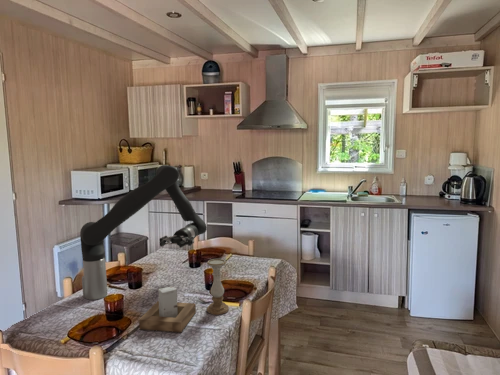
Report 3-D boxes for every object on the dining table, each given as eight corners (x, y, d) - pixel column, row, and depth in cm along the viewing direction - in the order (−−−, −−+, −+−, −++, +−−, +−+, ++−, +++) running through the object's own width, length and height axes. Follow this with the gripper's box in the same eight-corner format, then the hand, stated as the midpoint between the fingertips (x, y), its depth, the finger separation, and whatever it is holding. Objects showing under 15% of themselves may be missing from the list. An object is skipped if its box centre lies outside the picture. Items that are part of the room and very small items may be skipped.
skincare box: (163, 324, 137) (161, 292, 136) (158, 319, 141) (157, 289, 140) (178, 319, 141) (177, 289, 139) (174, 315, 144) (172, 285, 143)
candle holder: (232, 307, 152) (230, 259, 150) (223, 316, 144) (222, 265, 142) (212, 304, 155) (211, 257, 153) (203, 313, 147) (201, 263, 145)
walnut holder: (139, 329, 134) (138, 319, 134) (158, 310, 150) (157, 301, 150) (181, 333, 131) (180, 322, 131) (195, 313, 147) (195, 303, 147)
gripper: (169, 227, 172) (154, 235, 156) (199, 228, 169) (186, 236, 154) (170, 243, 173) (154, 252, 157) (199, 244, 170) (186, 254, 154)
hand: (170, 244), depth 155 cm, fingers open, 8 cm apart
